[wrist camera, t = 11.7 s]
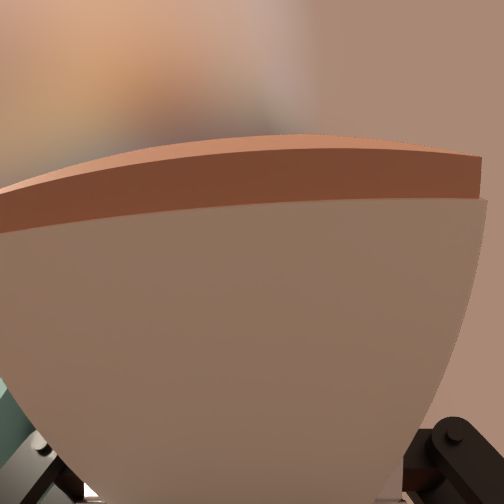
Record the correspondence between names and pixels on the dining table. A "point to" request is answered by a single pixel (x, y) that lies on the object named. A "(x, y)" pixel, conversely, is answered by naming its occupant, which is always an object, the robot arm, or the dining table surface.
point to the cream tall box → (238, 313)
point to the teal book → (13, 428)
